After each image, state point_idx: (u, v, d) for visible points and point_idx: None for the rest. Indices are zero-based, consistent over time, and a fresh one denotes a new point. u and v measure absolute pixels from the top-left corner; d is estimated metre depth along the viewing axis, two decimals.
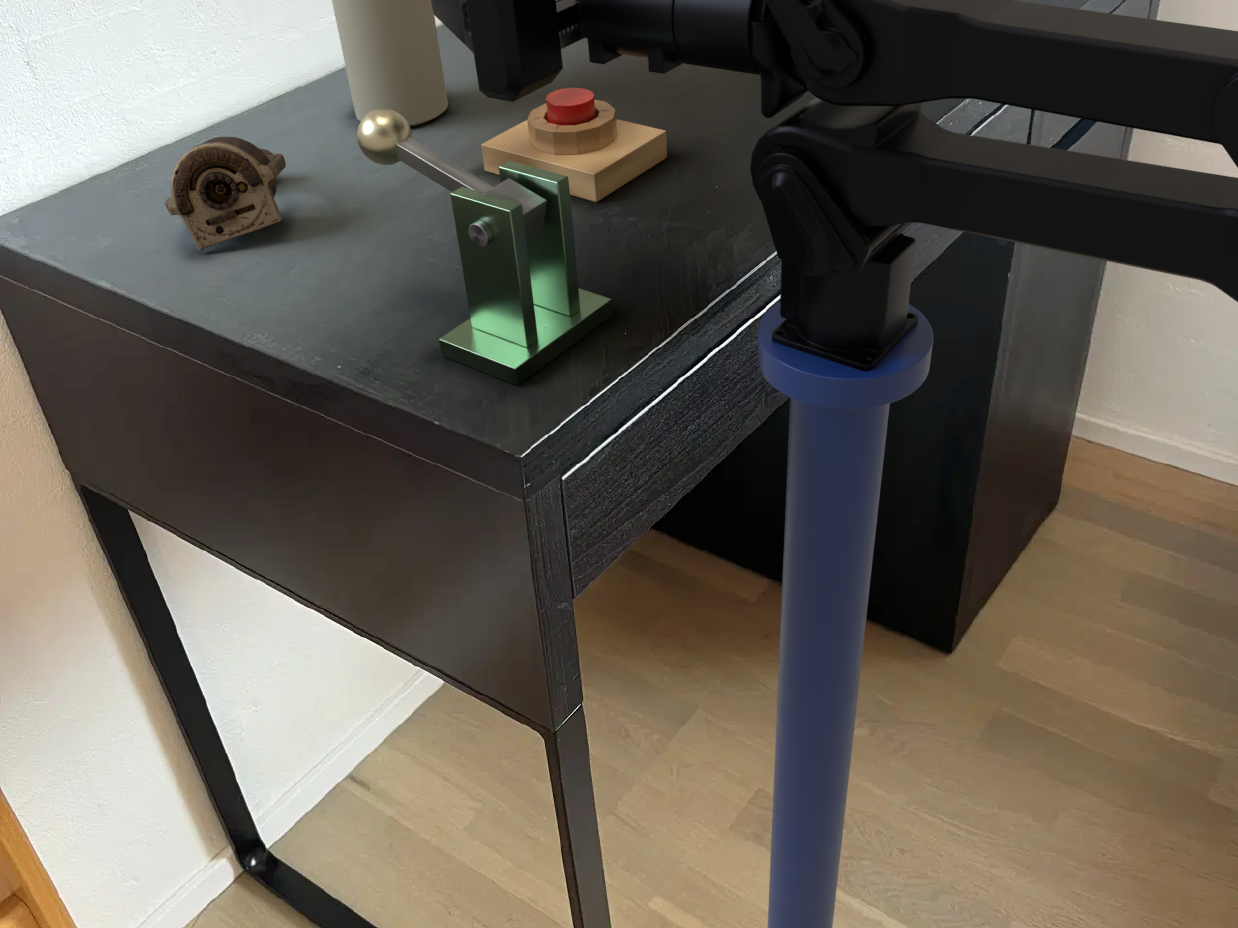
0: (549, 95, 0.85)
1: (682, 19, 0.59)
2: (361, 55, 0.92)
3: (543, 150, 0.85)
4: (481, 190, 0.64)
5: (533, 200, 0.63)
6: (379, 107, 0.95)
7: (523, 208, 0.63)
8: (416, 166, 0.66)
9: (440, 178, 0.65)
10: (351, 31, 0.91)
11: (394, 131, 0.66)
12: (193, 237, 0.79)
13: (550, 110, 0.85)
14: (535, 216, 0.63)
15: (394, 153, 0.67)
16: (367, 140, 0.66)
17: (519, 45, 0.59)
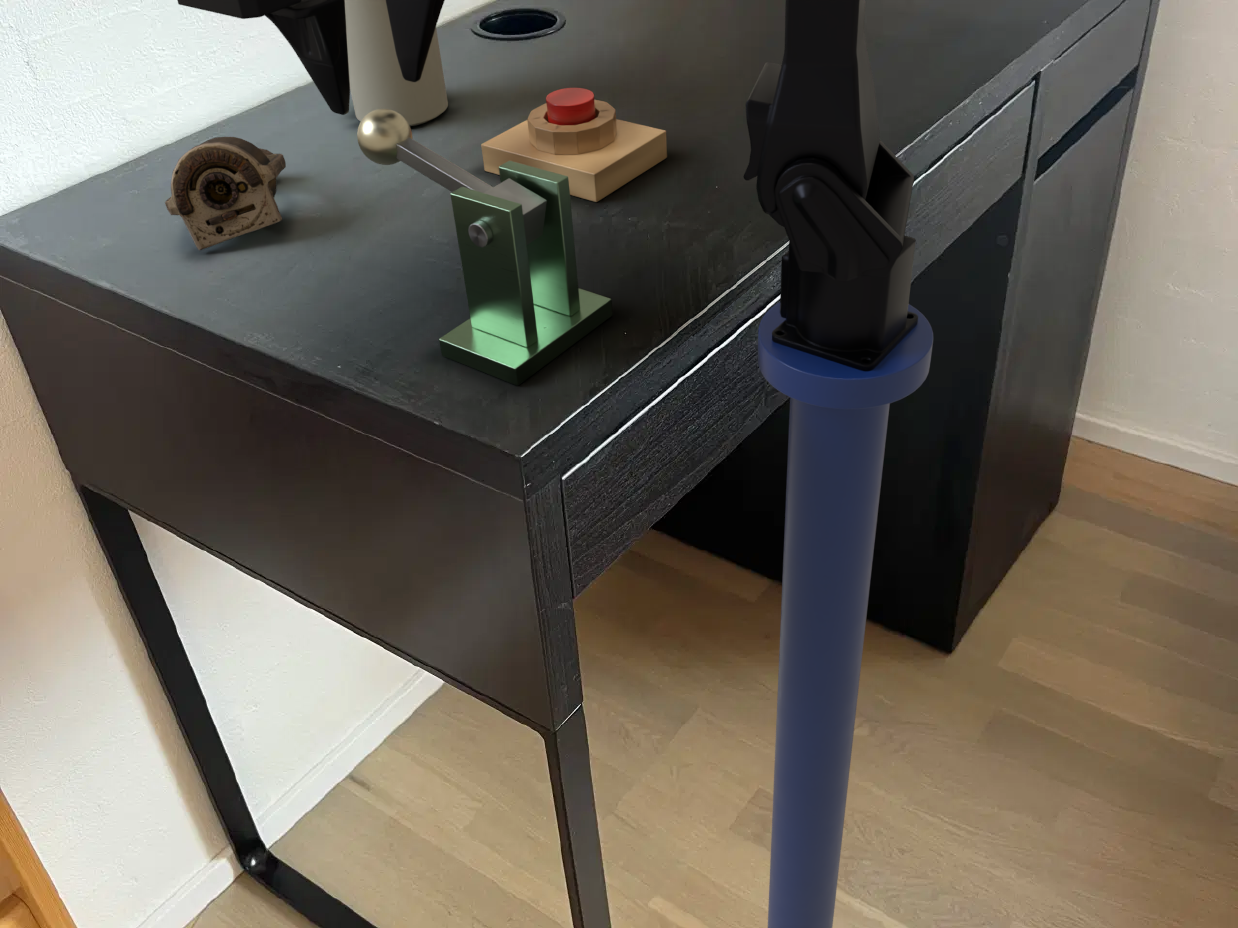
0: (549, 95, 0.85)
1: None
2: (361, 55, 0.92)
3: (543, 150, 0.85)
4: (481, 190, 0.64)
5: (533, 200, 0.63)
6: (379, 107, 0.95)
7: (523, 208, 0.63)
8: (416, 166, 0.66)
9: (440, 178, 0.65)
10: (351, 31, 0.91)
11: (394, 131, 0.66)
12: (193, 237, 0.79)
13: (550, 110, 0.85)
14: (535, 216, 0.63)
15: (394, 153, 0.67)
16: (367, 140, 0.66)
17: None
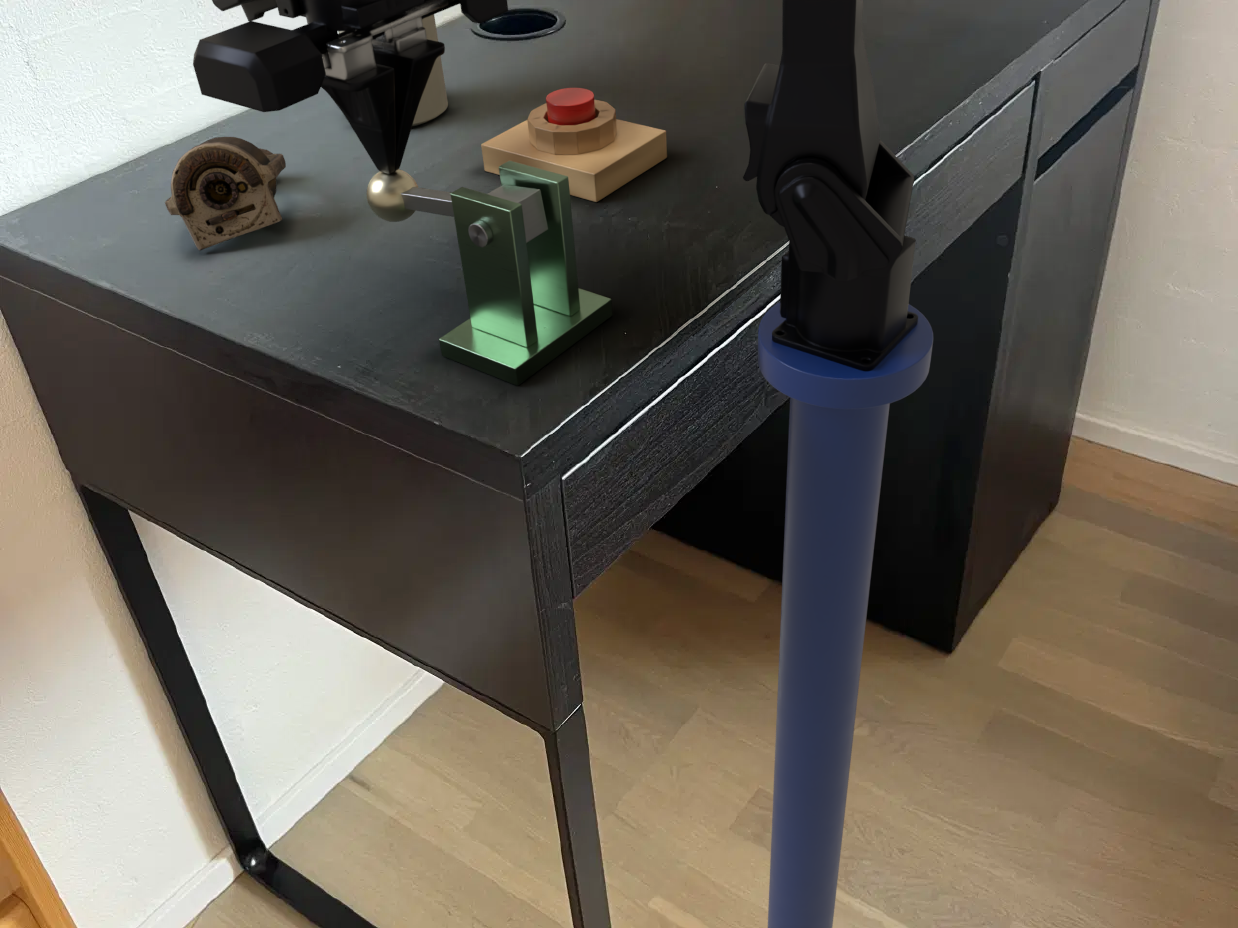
0: (549, 95, 0.85)
1: None
2: None
3: (543, 150, 0.85)
4: None
5: (526, 192, 0.63)
6: None
7: (516, 199, 0.63)
8: (422, 207, 0.68)
9: (443, 208, 0.67)
10: None
11: (397, 182, 0.68)
12: (193, 237, 0.79)
13: (550, 110, 0.85)
14: (532, 206, 0.63)
15: (402, 204, 0.69)
16: (374, 198, 0.69)
17: (229, 46, 0.57)
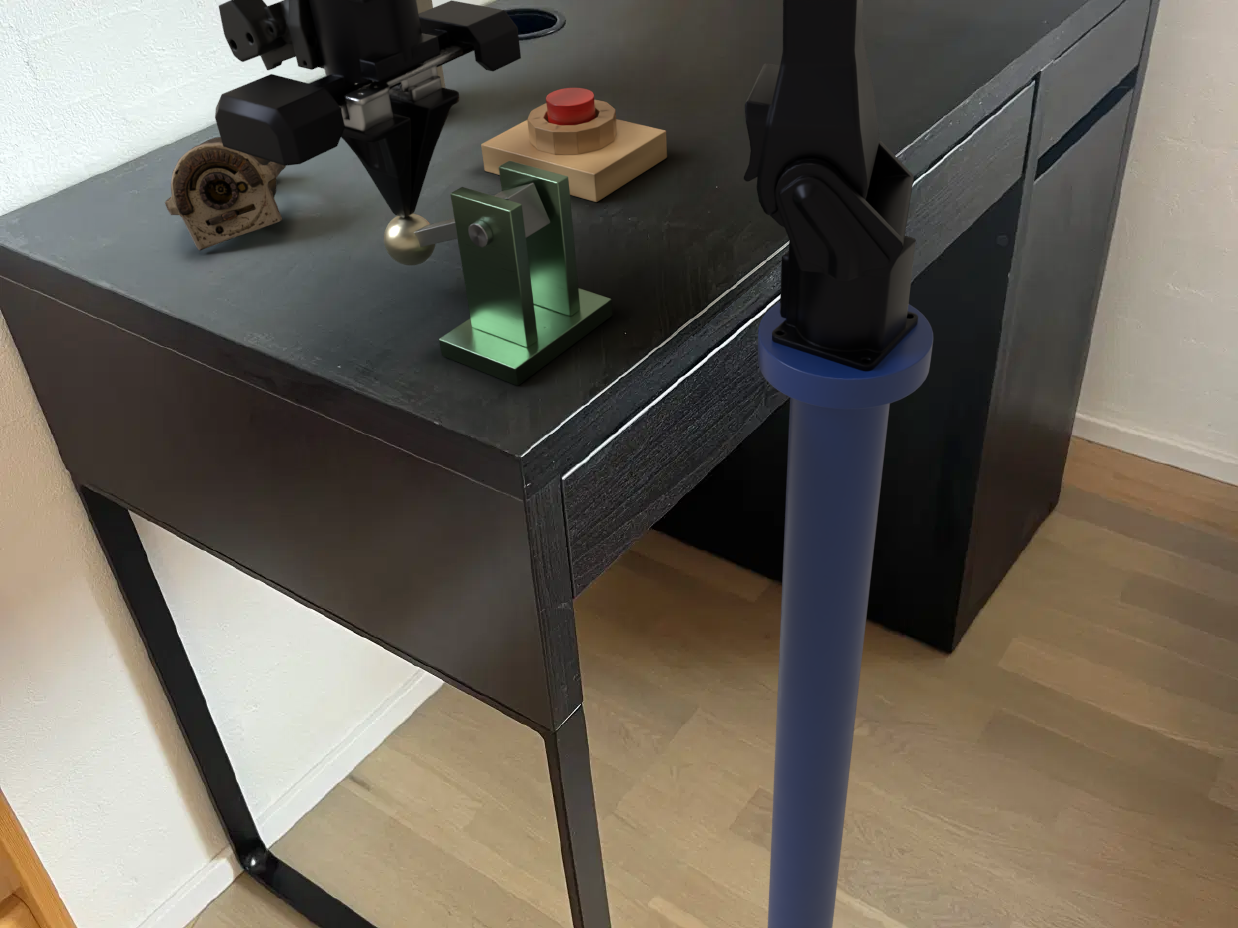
0: (549, 95, 0.85)
1: None
2: None
3: (543, 150, 0.85)
4: None
5: (520, 188, 0.63)
6: None
7: (510, 194, 0.63)
8: (434, 239, 0.69)
9: (452, 232, 0.67)
10: None
11: (408, 223, 0.70)
12: (193, 237, 0.79)
13: (550, 110, 0.85)
14: (528, 200, 0.63)
15: (417, 242, 0.70)
16: (390, 242, 0.70)
17: (251, 101, 0.59)
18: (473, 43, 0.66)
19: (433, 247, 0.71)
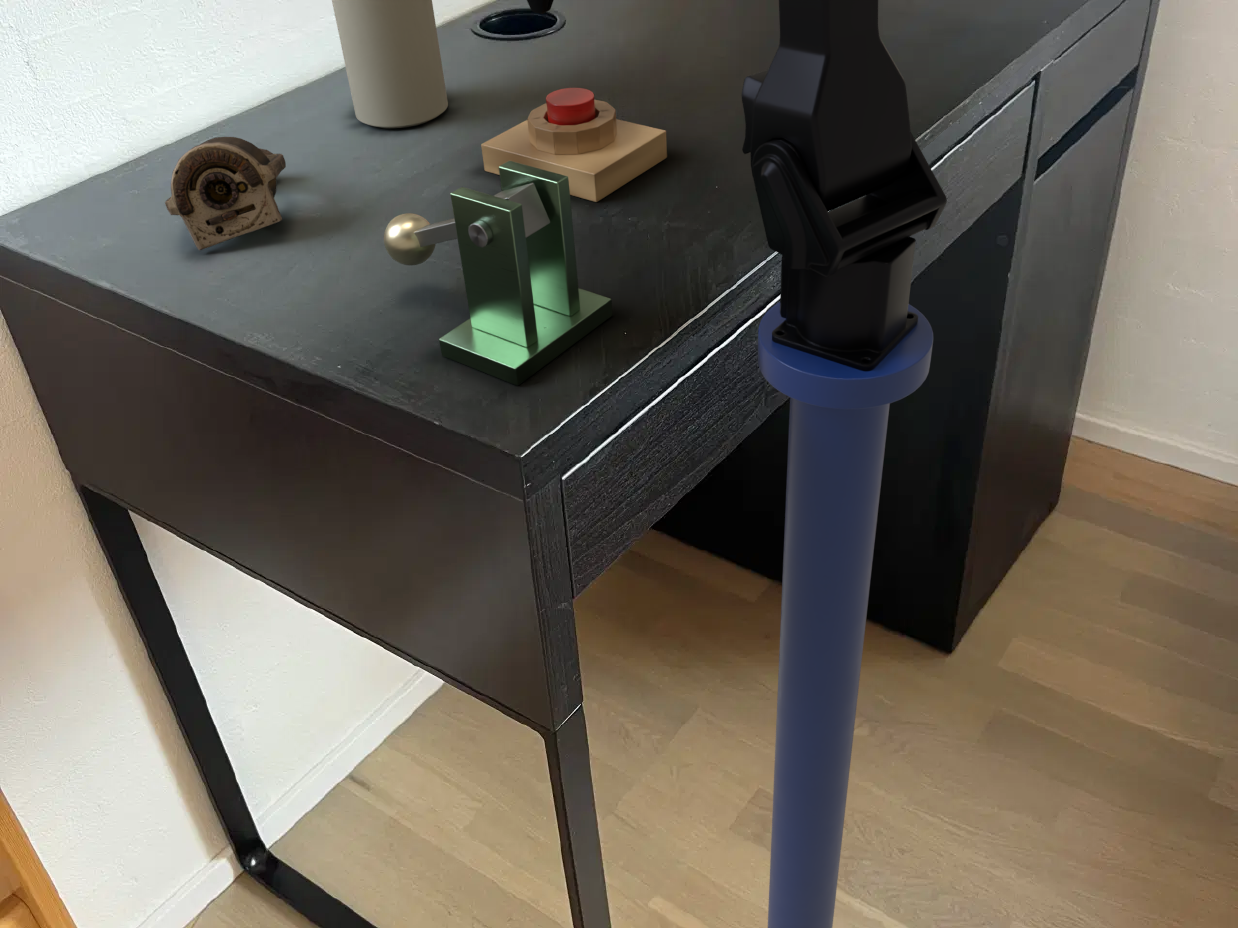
0: (549, 95, 0.85)
1: None
2: (361, 55, 0.92)
3: (543, 150, 0.85)
4: None
5: (520, 188, 0.63)
6: (379, 107, 0.95)
7: (510, 194, 0.63)
8: (434, 239, 0.69)
9: (452, 232, 0.67)
10: (351, 31, 0.91)
11: (408, 223, 0.70)
12: (193, 237, 0.79)
13: (550, 110, 0.85)
14: (528, 200, 0.63)
15: (417, 242, 0.70)
16: (390, 242, 0.70)
17: None
18: None
19: (433, 247, 0.71)
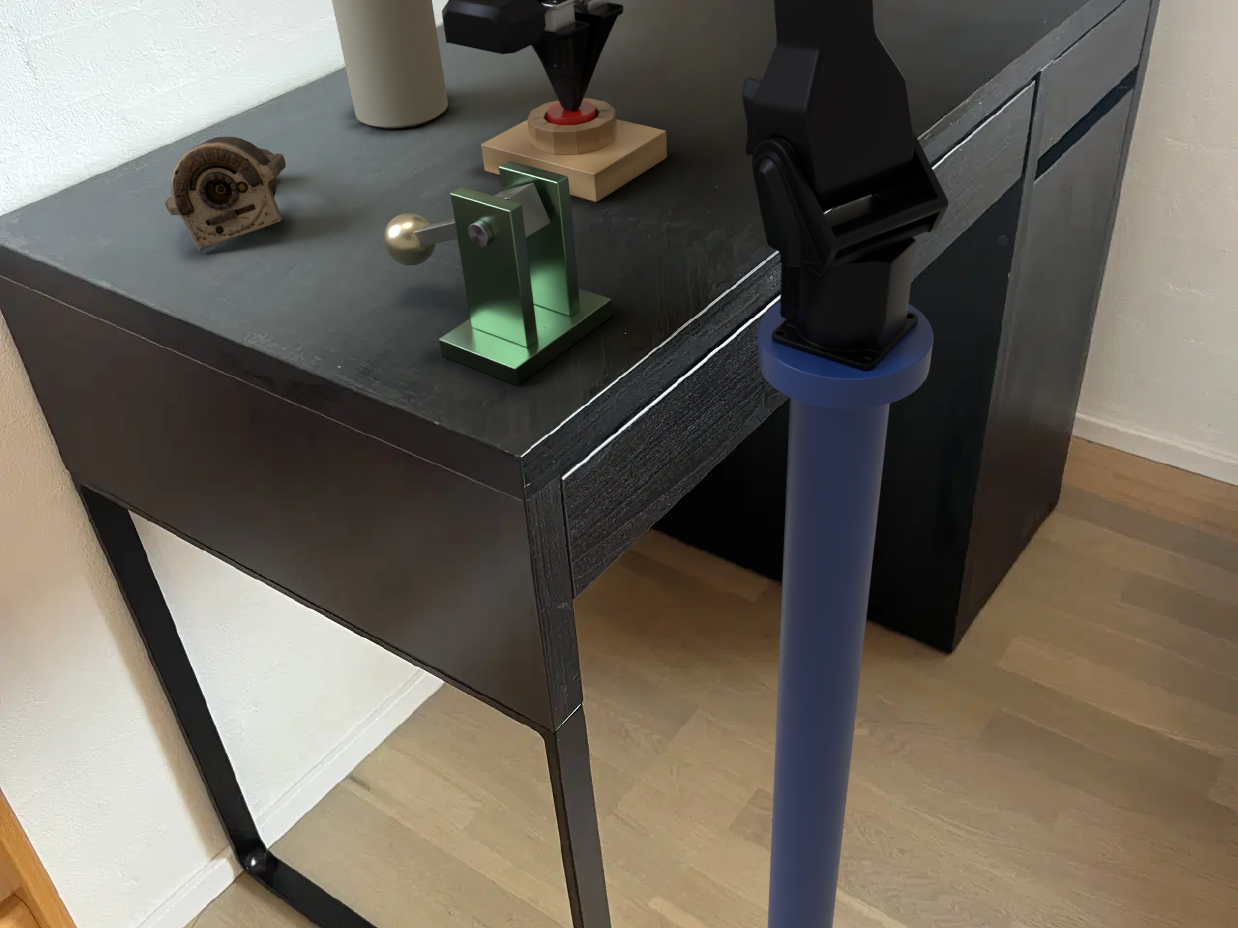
0: (550, 107, 0.86)
1: None
2: (361, 55, 0.92)
3: (543, 150, 0.85)
4: None
5: (520, 188, 0.63)
6: (379, 107, 0.95)
7: (510, 194, 0.63)
8: (434, 239, 0.69)
9: (452, 232, 0.67)
10: (351, 31, 0.91)
11: (408, 223, 0.70)
12: (193, 237, 0.79)
13: (551, 122, 0.85)
14: (528, 200, 0.63)
15: (417, 242, 0.70)
16: (390, 242, 0.70)
17: (475, 3, 0.74)
18: None
19: (433, 247, 0.71)
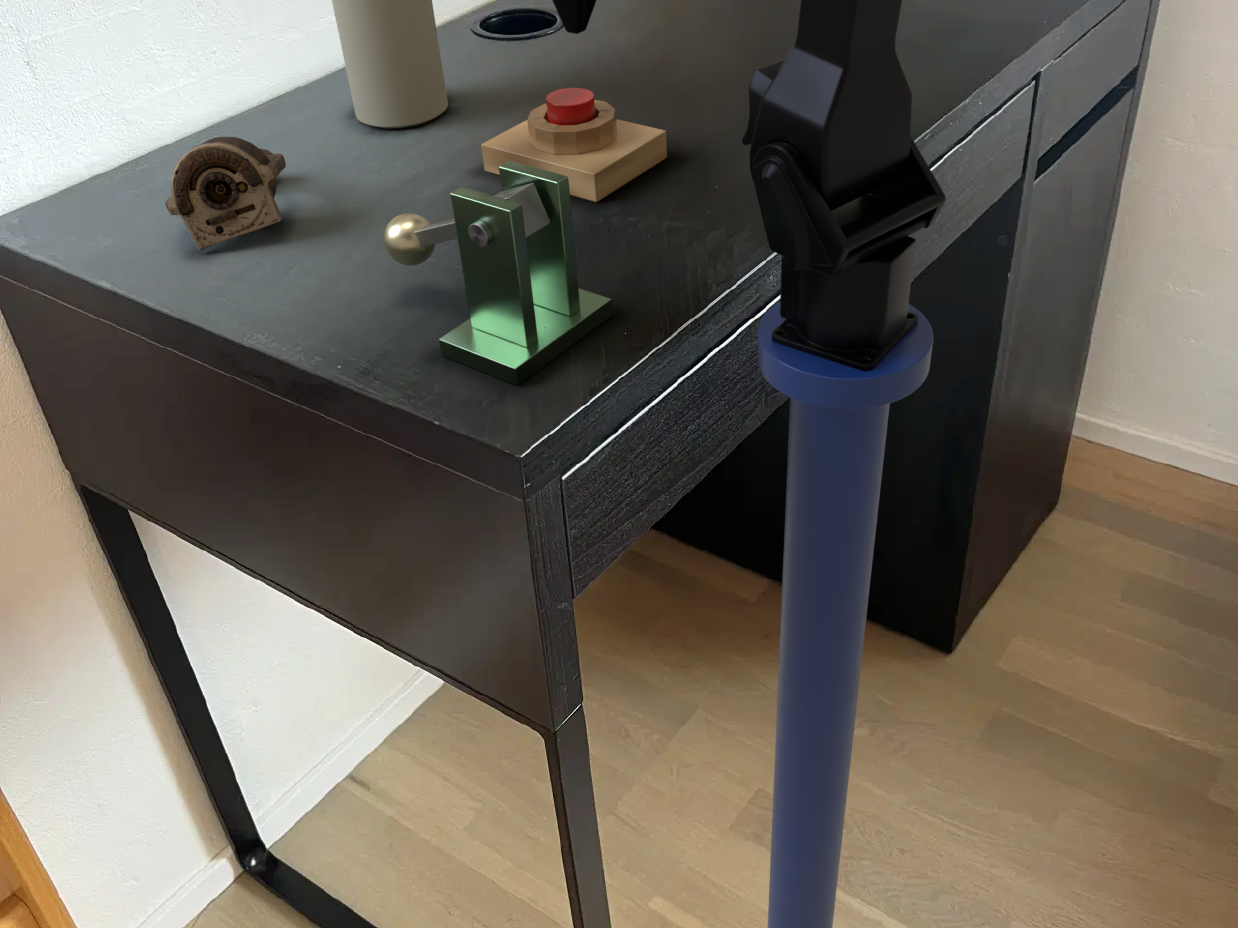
0: (549, 95, 0.85)
1: None
2: (361, 55, 0.92)
3: (543, 150, 0.85)
4: None
5: (520, 188, 0.63)
6: (379, 107, 0.95)
7: (510, 194, 0.63)
8: (434, 239, 0.69)
9: (452, 232, 0.67)
10: (351, 31, 0.91)
11: (408, 223, 0.70)
12: (193, 237, 0.79)
13: (550, 110, 0.85)
14: (528, 200, 0.63)
15: (417, 242, 0.70)
16: (390, 242, 0.70)
17: None
18: None
19: (433, 247, 0.71)
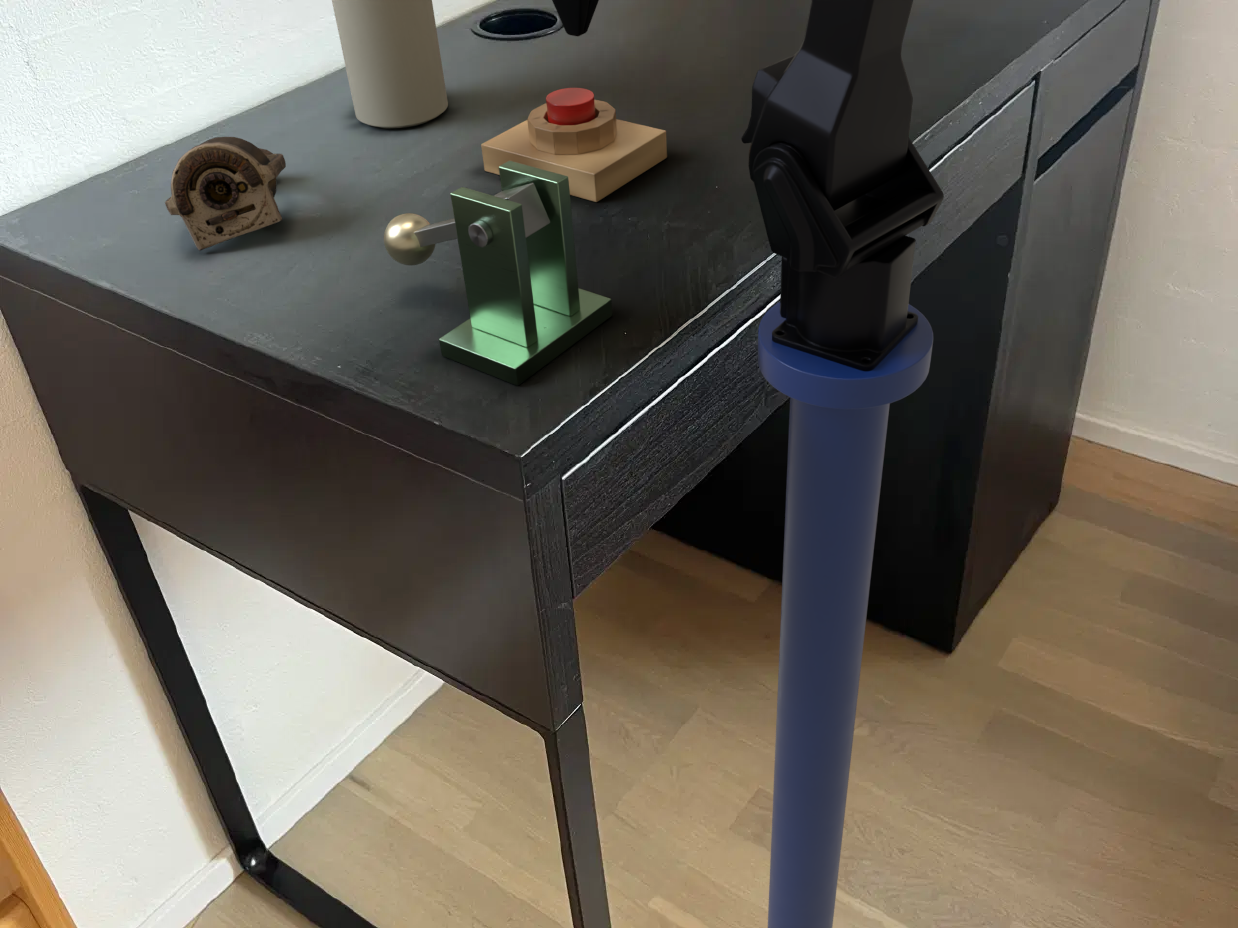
0: (549, 95, 0.85)
1: None
2: (361, 55, 0.92)
3: (543, 150, 0.85)
4: None
5: (520, 188, 0.63)
6: (379, 107, 0.95)
7: (510, 194, 0.63)
8: (434, 239, 0.69)
9: (452, 232, 0.67)
10: (351, 31, 0.91)
11: (408, 223, 0.70)
12: (193, 237, 0.79)
13: (550, 110, 0.85)
14: (528, 200, 0.63)
15: (417, 242, 0.70)
16: (390, 242, 0.70)
17: None
18: None
19: (433, 247, 0.71)
